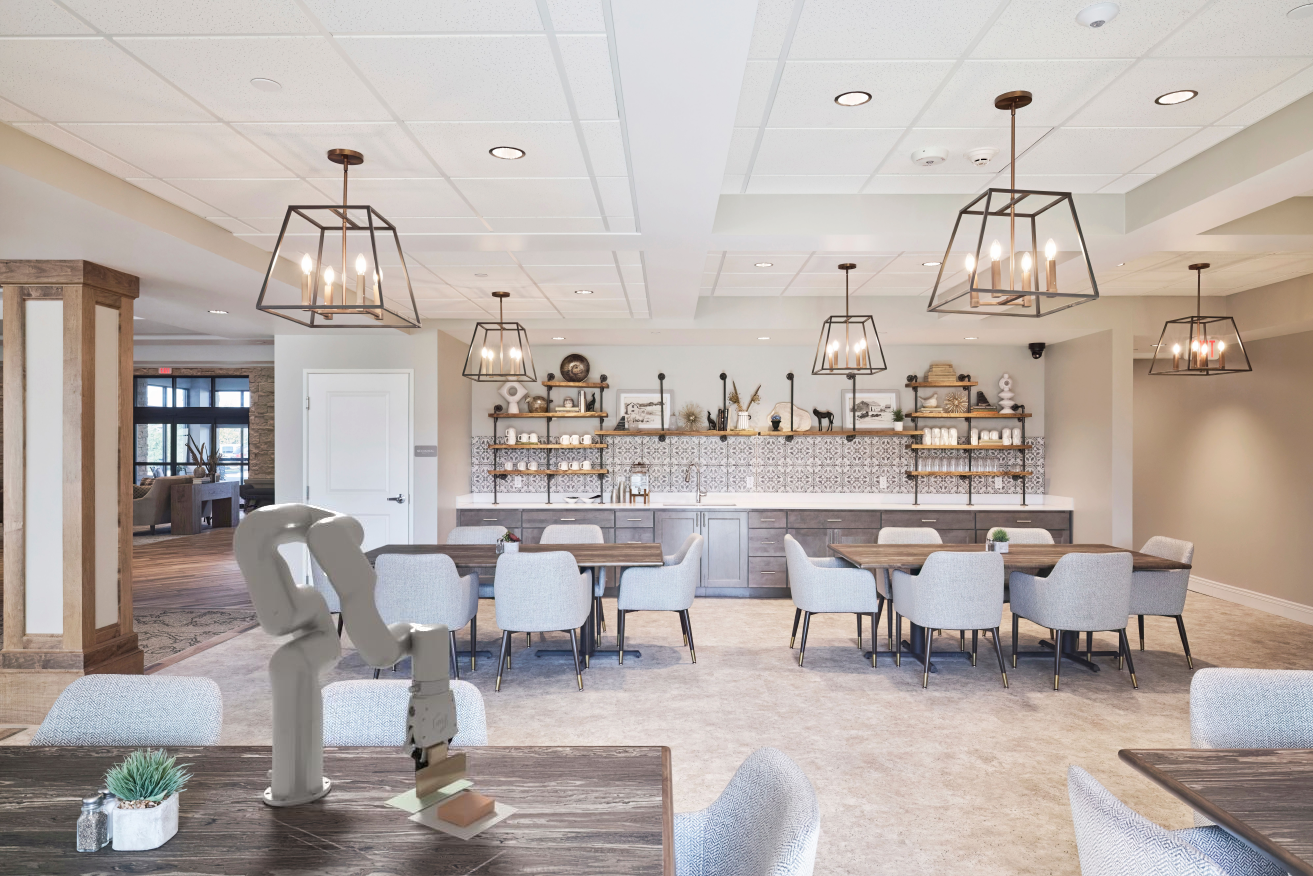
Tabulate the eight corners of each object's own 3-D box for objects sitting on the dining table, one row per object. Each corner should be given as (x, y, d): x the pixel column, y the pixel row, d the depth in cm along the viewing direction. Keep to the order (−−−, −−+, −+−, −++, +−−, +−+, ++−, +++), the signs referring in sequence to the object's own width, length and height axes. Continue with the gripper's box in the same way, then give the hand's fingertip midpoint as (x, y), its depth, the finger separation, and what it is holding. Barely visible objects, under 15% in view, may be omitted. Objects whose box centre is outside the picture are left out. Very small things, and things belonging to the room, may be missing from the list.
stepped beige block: (399, 791, 151) (399, 751, 151) (445, 770, 161) (445, 732, 161) (420, 798, 147) (420, 757, 148) (465, 776, 157) (465, 738, 158)
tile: (437, 806, 143) (463, 815, 139) (468, 791, 150) (494, 799, 146) (437, 818, 143) (463, 827, 139) (469, 802, 150) (494, 810, 146)
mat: (406, 819, 143) (406, 818, 143) (462, 792, 155) (462, 790, 155) (466, 841, 135) (466, 840, 135) (520, 811, 146) (520, 809, 146)
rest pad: (383, 803, 150) (383, 802, 150) (445, 775, 163) (445, 773, 163) (413, 814, 145) (413, 813, 145) (474, 784, 159) (474, 783, 159)
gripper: (410, 699, 146) (410, 795, 145) (473, 678, 160) (474, 765, 159) (384, 693, 150) (384, 786, 149) (449, 673, 164) (449, 758, 164)
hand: (430, 774), depth 154 cm, fingers closed on stepped beige block, 4 cm apart
